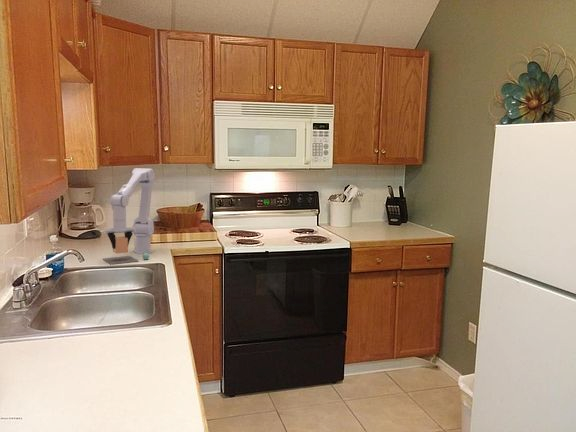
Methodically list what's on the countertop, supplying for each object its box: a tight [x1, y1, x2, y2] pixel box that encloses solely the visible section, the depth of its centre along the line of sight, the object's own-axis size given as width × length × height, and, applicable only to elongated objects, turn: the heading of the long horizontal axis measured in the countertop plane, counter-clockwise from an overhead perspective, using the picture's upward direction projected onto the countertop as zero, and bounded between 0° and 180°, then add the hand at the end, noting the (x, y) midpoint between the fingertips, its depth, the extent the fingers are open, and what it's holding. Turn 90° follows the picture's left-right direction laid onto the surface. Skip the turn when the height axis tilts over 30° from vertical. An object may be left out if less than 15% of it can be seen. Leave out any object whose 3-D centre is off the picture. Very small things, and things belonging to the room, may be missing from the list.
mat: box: [102, 255, 139, 265], centre depth 219 cm, size 13×13×1 cm
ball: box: [141, 253, 150, 261], centre depth 222 cm, size 3×3×3 cm
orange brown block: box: [112, 235, 129, 254], centre depth 217 cm, size 5×5×7 cm
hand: (120, 247), depth 218 cm, fingers closed on orange brown block, 5 cm apart
